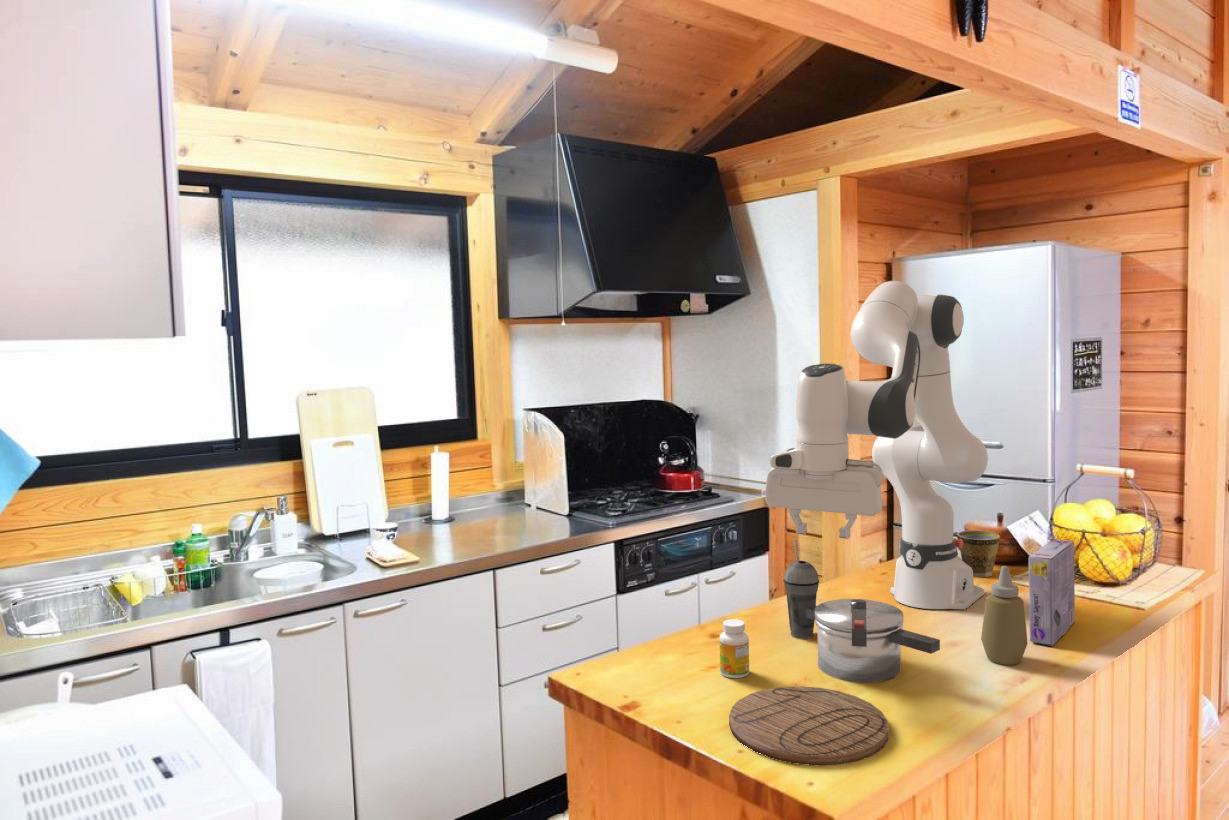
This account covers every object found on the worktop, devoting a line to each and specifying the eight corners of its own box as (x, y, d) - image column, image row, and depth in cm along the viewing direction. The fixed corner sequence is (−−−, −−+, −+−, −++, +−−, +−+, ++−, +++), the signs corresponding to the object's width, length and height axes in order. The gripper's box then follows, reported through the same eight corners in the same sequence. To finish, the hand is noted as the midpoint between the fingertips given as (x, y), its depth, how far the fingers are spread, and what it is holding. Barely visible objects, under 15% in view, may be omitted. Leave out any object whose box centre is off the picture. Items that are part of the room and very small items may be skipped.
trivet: (697, 726, 146) (697, 714, 146) (798, 684, 161) (798, 674, 161) (818, 786, 127) (818, 773, 126) (921, 732, 142) (921, 721, 142)
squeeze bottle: (991, 648, 175) (992, 558, 173) (1034, 659, 169) (1035, 566, 167) (973, 660, 169) (974, 567, 167) (1017, 671, 164) (1018, 575, 162)
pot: (835, 640, 182) (835, 597, 181) (958, 678, 161) (959, 630, 160) (785, 661, 171) (785, 615, 171) (910, 704, 151) (910, 653, 150)
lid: (901, 607, 173) (901, 582, 172) (909, 656, 148) (909, 628, 147) (816, 602, 177) (816, 579, 176) (810, 650, 152) (810, 622, 152)
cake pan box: (1051, 616, 192) (1053, 536, 190) (1077, 621, 189) (1079, 539, 187) (1026, 643, 177) (1027, 556, 176) (1053, 648, 174) (1055, 559, 172)
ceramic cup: (1007, 574, 223) (1008, 535, 222) (981, 581, 218) (982, 541, 217) (964, 563, 234) (964, 526, 233) (938, 569, 229) (938, 531, 228)
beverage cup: (820, 641, 181) (819, 545, 179) (783, 640, 183) (782, 544, 181) (819, 629, 189) (818, 536, 187) (784, 628, 190) (783, 535, 188)
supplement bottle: (714, 670, 168) (713, 620, 167) (739, 665, 170) (738, 616, 169) (729, 681, 163) (728, 629, 162) (754, 675, 165) (754, 624, 164)
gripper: (887, 458, 153) (887, 537, 154) (774, 452, 164) (775, 526, 165) (877, 464, 148) (877, 546, 149) (761, 457, 158) (762, 533, 160)
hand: (822, 535), depth 157 cm, fingers open, 6 cm apart
